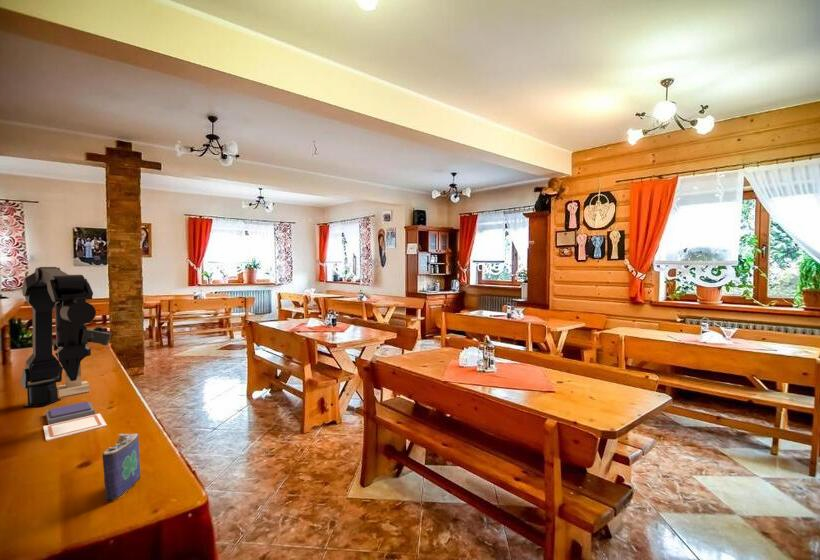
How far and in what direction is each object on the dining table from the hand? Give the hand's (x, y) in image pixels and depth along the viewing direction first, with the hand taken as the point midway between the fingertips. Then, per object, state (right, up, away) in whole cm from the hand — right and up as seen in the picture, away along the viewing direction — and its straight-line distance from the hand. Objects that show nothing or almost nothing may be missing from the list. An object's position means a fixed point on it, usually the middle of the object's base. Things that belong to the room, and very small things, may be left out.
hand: (72, 379), depth 104 cm
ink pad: (-9, -13, +9) cm, 18 cm away
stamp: (0, -4, 0) cm, 4 cm away
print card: (0, -13, +1) cm, 13 cm away
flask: (+35, -14, -29) cm, 48 cm away
